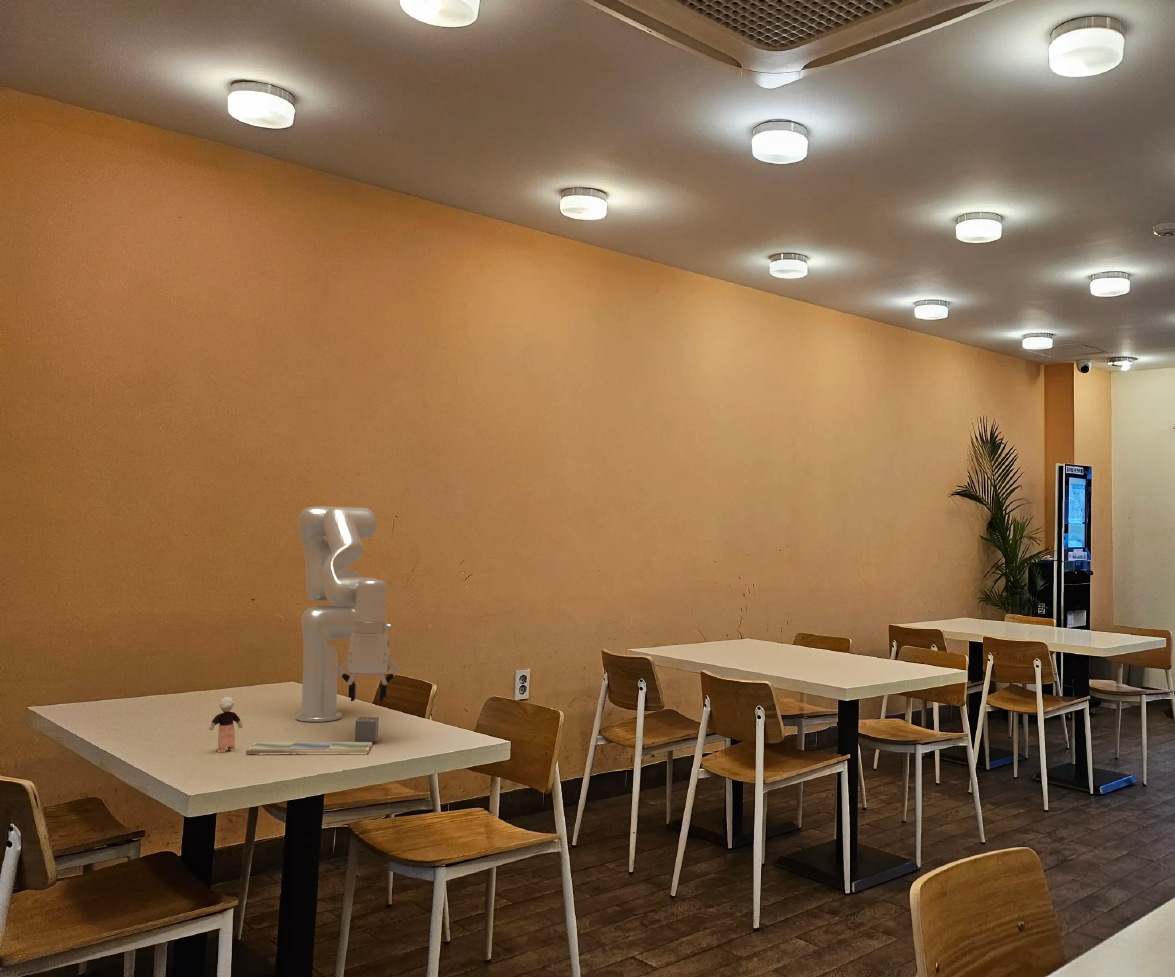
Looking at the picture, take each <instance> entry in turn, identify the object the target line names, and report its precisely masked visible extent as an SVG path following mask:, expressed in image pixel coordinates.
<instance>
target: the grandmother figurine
mask: <svg viewBox="0 0 1175 977" xmlns="http://www.w3.org/2000/svg"><path fill="white" fill-rule="evenodd" d="M234 705H235V702H234V700H233V698H232V697H230V696H225V697H223V698H221V699H220V702H219V703H218V706H219V708H220V710H221V711H222V712H220V713H219V714H216V715H215V716H214V718H213V719H212V720H211V723H210V726H209V727H208V728H209V730H210V731H213V730H214V729H215V727H216V726H217V725H218V732H217V733H218V735H217V742H218V743H217V747H218V748H217V749H216V751H217V750H219V751H220V752H223V753H225V752H224V751H226V752H227V751H228V750H235V748H236V735H235V726H234V722H235V723H236V724H237V727H238V728H239V729H242V728H243V724H242V721H241V718H240V717H239V716H238V715H237V713H236V712H233V711H232V709H233V707H234ZM226 748H227V749H228V750H227V749H226ZM235 751H236V750H235ZM220 752H219V753H220Z"/></svg>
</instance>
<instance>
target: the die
mask: <svg viewBox="0 0 1175 977" xmlns="http://www.w3.org/2000/svg"><path fill="white" fill-rule="evenodd" d="M379 720H380V719H379V717H378V716H377V717H376V716H375V717H372V716H358V718H356V720H355V727H354V742H372V743H373V742H374V743H375V742H376V741H377V739H378V737H379Z"/></svg>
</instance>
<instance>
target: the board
mask: <svg viewBox="0 0 1175 977" xmlns="http://www.w3.org/2000/svg"><path fill="white" fill-rule="evenodd" d="M371 746H372V747H373V742H357V741H333V742H332V741H295V742H294V741H284V742H283V741H279V742H278V741H277V742H276V741H275V742H274V741H269V742H268V741H267V742H266V741H265V742H263V741H261V742H260V741H259V742H253V744H251V745H250V747H249V748H247V750H245V755H246V754H259V753H289V754H291V753H292V754H293V753H296V754H299V753H303V754H306V753H368V752H369V753H370V751H371V749H372V748H371ZM370 748H371V749H370ZM369 750H370V751H369ZM369 753H368V754H369Z"/></svg>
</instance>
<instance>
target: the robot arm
mask: <svg viewBox="0 0 1175 977" xmlns="http://www.w3.org/2000/svg"><path fill="white" fill-rule="evenodd" d="M377 524H378V523H377V519H376V516H375V513H374V512H373V511H372V509H370V508H368V507H356V506H355V507H352V506H331V505H330V506H328V505H313V506H308V507H306V508H304V509H303V510H302V511H301V512H300V514H299V518H298V524H297V526H298V534H299V539H300V541H301V545H302V548H303V552H304V558H305V560H304V561H305V562H304V564H305V565H304V566H305V590H306V591H305V592H306V594H307V597H308V599H309V600H311V601H314V602H328V603H329V604H330V605H316V606H312V607H309V608H307V609H306V610H304V612H303V613H302V615H301V619H300V620H301V633H302V641H303V642H302V643H303V655H302V656H303V659H302V660H303V662H302V664H303V665H302V685H301V686H302V687H301V688H302V690H301V691H302V693H301V711H300V712H298V713H296V714H295V720H297V721H300V722H308V723H309V722H310V723H319V722H320V723H321V722H322V723H323V722H332V721H338V720H340V719H341V718H342V717H343V715H342V714H343V713H342V712H340V711H338V710H337V702H338V701H337V699H338V698H337V697H338V692H337V691H338V675H339V676H340V677H341V678H342V679H343V681H344V682H346V684H347V685H348V698H350V702H354V701H355V700H356V692H357V691H356V688H357V684H356V682H355V680H356V677H357V676H358V675H378V677H379V679H380V682H381V684H380V686H379V702H383V701H384V698H387V689H388V688H387V685H388V683H389V682H391V681H392V679H394V678H395V676H396V675H397V674H399V672H400V671H401V668H400V667H399V666H398V664H396V663H395V662H394V661H393V660H392V659H391V658H390V657H391V655H390V652H391V651H390V639H389V634H388V633H385V632H386V631H388V630H391V626H392V625H391V624H390V623H389V624H388V623H387V622H386V606H387V605H386V602H387V584H386V582H385V581H384V580H382V579H378V578H374V577H362V575H361V574H360V572H359V571H358V570H357V569H354V568H350V567H348V568H347V566H349V565H351V564H353V563H355V562H357V561H359V559H361V557H362V556H363V554H364V550H365V548H364V544H363V541H362V539H366V538H367V539H369V538H371V537H373V536H374V535H375V533H376V531H377ZM325 536H326V537H325ZM345 567H346V568H345ZM344 639H345V640H346V639H350V641H349V646H348V654H347V655H348V656H347V658H346V659H345V661H344V662H341V664H340V665H339V656H338V652H337V650H336V648H335V647H334V646H333V644H332V643H331V641H332V640H344ZM345 668H347V672H348V673H349V674H350V675H349V674H348V673H347V672H346V671H345ZM390 668H391V669H392V672H390V673H389V674H388V676H387V675H386V674H387V673H388V671H390Z"/></svg>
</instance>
